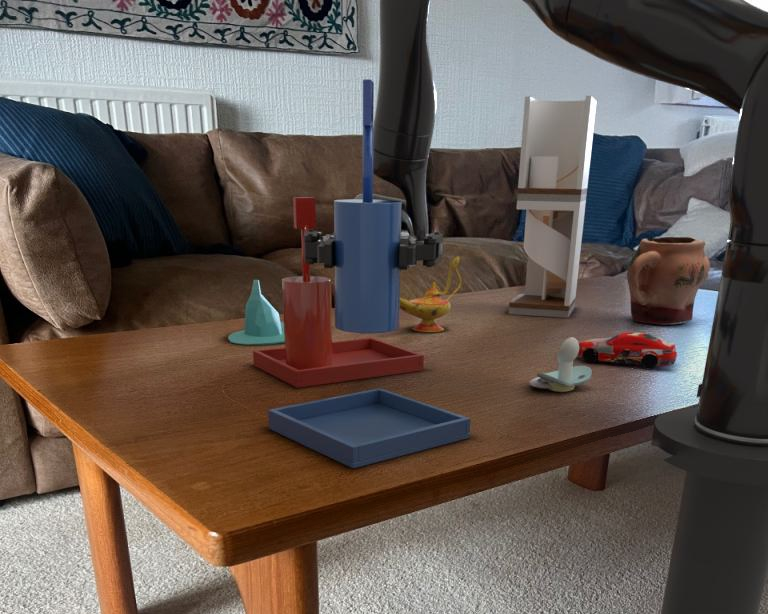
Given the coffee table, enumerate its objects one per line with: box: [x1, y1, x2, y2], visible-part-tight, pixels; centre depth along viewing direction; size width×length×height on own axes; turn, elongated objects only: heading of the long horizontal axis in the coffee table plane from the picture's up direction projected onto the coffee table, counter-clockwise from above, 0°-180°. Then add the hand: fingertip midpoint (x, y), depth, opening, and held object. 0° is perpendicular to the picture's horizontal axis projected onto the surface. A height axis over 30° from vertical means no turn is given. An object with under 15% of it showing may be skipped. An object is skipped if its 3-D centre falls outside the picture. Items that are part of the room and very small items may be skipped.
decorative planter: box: [626, 236, 711, 325], centre depth 133 cm, size 20×12×14 cm, turn 137°
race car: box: [577, 331, 678, 370], centre depth 106 cm, size 13×5×4 cm, turn 64°
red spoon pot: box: [281, 196, 333, 370], centre depth 96 cm, size 6×6×20 cm
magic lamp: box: [399, 256, 462, 333], centre depth 124 cm, size 7×18×11 cm, turn 132°
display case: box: [508, 95, 598, 319], centre depth 138 cm, size 11×11×35 cm
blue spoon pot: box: [333, 78, 402, 334], centre depth 69 cm, size 6×6×20 cm
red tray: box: [252, 337, 425, 389], centre depth 102 cm, size 18×13×2 cm
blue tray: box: [267, 387, 471, 469], centre depth 77 cm, size 14×14×2 cm
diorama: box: [227, 279, 285, 346], centre depth 121 cm, size 12×20×9 cm, turn 149°
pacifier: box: [529, 336, 593, 393], centre depth 93 cm, size 7×6×6 cm
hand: (365, 256), depth 68 cm, fingers closed on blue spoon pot, 6 cm apart
